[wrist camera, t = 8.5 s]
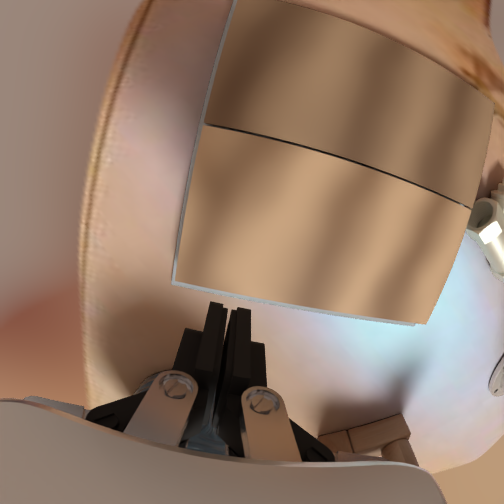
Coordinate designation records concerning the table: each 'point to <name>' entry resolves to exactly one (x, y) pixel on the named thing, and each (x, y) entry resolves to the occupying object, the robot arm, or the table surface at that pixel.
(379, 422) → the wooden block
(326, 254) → the plank
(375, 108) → the floor board
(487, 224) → the pipe fitting
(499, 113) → the table surface
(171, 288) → the table surface
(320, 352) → the table surface
